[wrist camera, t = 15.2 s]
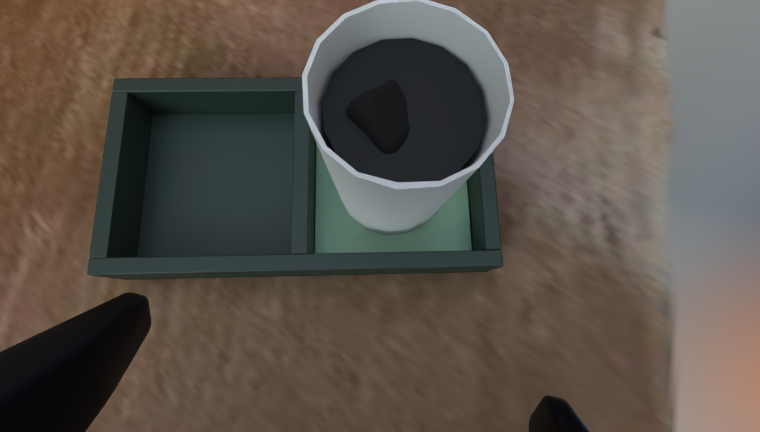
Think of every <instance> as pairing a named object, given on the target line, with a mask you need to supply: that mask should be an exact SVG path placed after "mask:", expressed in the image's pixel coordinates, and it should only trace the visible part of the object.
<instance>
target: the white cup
mask: <svg viewBox="0 0 760 432" xmlns="http://www.w3.org/2000/svg"><path fill="white" fill-rule="evenodd" d="M302 86H303V109H304V115H305V117H306V120H307V122H308V124H309V127H310V129H311V131H312V134H313V136H314V138H315V140H316V143H317V145H318V147H319V150H320V152H321V154H322V157H323V159H324V161H325V163H326V166H327V168H328V170H329V173H330V175H331V177H332V180H333V182H334V184H335V187H336V189H337V191H338V193H339V196H340V198H341V200H342V202H343V204H344V206H345V208H346V210H347V212H348V214H349V216H350V217H351V218H353V219H354V220H355V221H356V222H357V223H359V224H360V225H361V226H362V227H363V228H364V229H367V230H370V231H373V232H376V233H379V234H382V235H397V234H407V233H409V232H411V231H413V230H415V229H416V228H418V227H420V226H422V225H424V224H425V223H426V222H427V221H428V220H429V219H430V218H431V217H432V216H433V215H434V214H435V213H436V212H437V211H438V210H439V209H440V207H441V206H442V205H443V204H444V203H445V202H446V201H447V200H448V199H449V198H450V197H451V196H452V195H453V194H454V193H455V192H456V191H457V190H458V189H459V188H460V187H461V186H462V185H463V184H464V183H465V182H466V180H467V179H468V178H469V177H470V176H471V175H472V174H473V173H474V172H475V171H476V170H477V169H478V168H479V167H480V166H481V165H482V163H483V162H484V161H485V160H486V159H487V157H488V156H489V155H490V154H491V153H492V151H493V150H494V149H495V148H496V147H497V145H498V144H499V143H500V142H501V141H502V140H503V138H504V137H505V133H506V130H507V126H508V122H509V119H510V115H511V111H512V107H513V104H514V95H513V89H512V83H511V77H510V71H509V66H508V62H507V61H506V59H505V58H504V56H503V55H502V53H501V52H500V50H499V48H498V47H497V45H496V44H495V42H494V41H493V39H492V38H491V36H490V34H489V33H488V31H486V30H485V29H484V28H482V27H481V26H479V25H478V24H477V23H475V22H474V21H473V20H471V19H470V18H468V17H467V16H466V15H464V14H463V13H462V12H460V11H459V10H457V9H456V8H453V7H449V6H446V5H443V4H439V3H436V2H432V1H429V0H376V1H374V2H371V3H369V4H366V5H364V6H362V7H359V8H357V9H354V10H352V11H350V12H347V13H345V14H343V15H342V16H341V17H340V18H339V19H338V20H337V21H336V22H335V23H334V24H333V25H332V26H331V27H330V28H329V29H327V30H326V31H325V32H324V33H323V34H322V35H321V36H320V37H319V38H318V39H317V40H316V42H315V45H314V47H313V50H312V52H311V54H310V57H309V59H308V62H307V64H306V67H305V69H304V71H303V74H302Z"/></svg>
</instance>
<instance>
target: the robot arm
mask: <svg viewBox="0 0 760 432" xmlns="http://www.w3.org/2000/svg"><path fill="white" fill-rule="evenodd" d="M150 327H151V316H150V309H149V302H148V299H147V298H146V297H145V296H143V295H139V294H135V293H124V294H122V295H120V296H118V297H116V298H113V299H111V300H109V301H107V302H105V303H103V304H101V305H99V306H97V307H94V308H92V309H90V310H88V311H86V312H84V313H82V314H80V315H77V316H75V317H73V318H71V319H69V320H67V321H65V322H63V323H61V324H58V325H56V326H54V327H52V328H50V329H48V330H46V331H44V332H42V333H39V334H37V335H35V336H33V337H31V338H29V339H27V340H25V341H22V342H20V343H18V344H16V345H14V346H12V347H10V348H8V349H6V350H3V351H1V352H0V432H85V431H86V430H87V428H88V427H89V426H90V424H91V423H92V422H93V420H94V419H95V417H96V416H97V415H98V413H99V412H100V411H101V409H102V408H103V406H104V405H105V404H106V402H107V401H108V399H109V398H110V396H111V395H112V393H113V392H114V390H115V388H116V387H117V385H118V383H119V382H120V380H121V378H122V377H123V375H124V373H125V371H126V370H127V368H128V366H129V365H130V363H131V361H132V359H133V358H134V356H135V354H136V353H137V351H138V349H139V347H140V346H141V344H142V342H143V341H144V339H145V337H146V336H147V334H148V332H149V330H150ZM529 432H589V431H588V429H587V428H586V427H585V425H584V424H583V422H582V421H581V420H580V418H579V417H578V416H577V414H576V413H575V412H574V410H573V409H572V408H571V406H570V405H569V404H568V402H566V401H565V400H564V399H561V398H557V397H553V396H548V395H547V396H545V397H544V398H543V399H542V400H541V402H540V403H539V405H538V406H537V407H536V409H535V410H534V412H533V413H532V415H531V417H530V420H529Z"/></svg>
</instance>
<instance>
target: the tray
mask: <svg viewBox="0 0 760 432" xmlns="http://www.w3.org/2000/svg"><path fill="white" fill-rule="evenodd" d="M89 257H90V259H89V264H88V271H87V275H91V276H99V277H108V278H116V279H125V280H128V279H174V278H221V277H268V276H314V275H361V274H408V273H454V272H486V271H489V270H492V269H496V268H499V267H502V266H503V258H502V250H501V238H500V227H499V216H498V205H497V194H496V183H495V173H494V162H493V151H492V153H491V154H490V155H489V156H488V157H487V159H486V160H485V161H484V162H483V163H482V165H481V166H480V167H479V168H478V169H477V170H476V171H475V172H474V173H473V174H472V175H471V176H470V177H469V178H468V179H467V180H466V182H465V183H464V184H463V185H462V186H461V187H460V188H459V189H458V190H457V191H456V192H455V193H454V194H453V195H452V196H451V197H450V198H449V199H448V200H447V201H446V202H445V203H444V204H443V205H442V206H441V207H440V209H439V210H438V211H437V212H436V213H435V214H434V215H433V216H432V217H431V218H430V219H429V220H428V221H427V222H426V223H425V224H424V225H422V226H420V227H418V228H416V229H415V230H413V231H411V232H409V233H407V234H397V235H382V234H379V233H376V232H373V231H370V230H367V229H364V228H363V227H362V226H361V225H360V224H359V223H357V222H356V221H355V220H354V219H353V218H351V217H350V216H349V214H348V212H347V210H346V208H345V206H344V204H343V202H342V200H341V198H340V196H339V193H338V191H337V189H336V187H335V184H334V182H333V180H332V177H331V175H330V173H329V170H328V168H327V166H326V163H325V161H324V159H323V157H322V154H321V152H320V150H319V147H318V145H317V143H316V140H315V138H314V136H313V134H312V131H311V129H310V127H309V124H308V122H307V120H306V117H305V115H304V109H303V86H302V78H121V79H114V84H113V92H112V97H111V104H110V111H109V118H108V126H107V133H106V140H105V147H104V154H103V162H102V169H101V176H100V183H99V191H98V198H97V205H96V212H95V220H94V227H93V234H92V241H91V249H90V256H89Z"/></svg>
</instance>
